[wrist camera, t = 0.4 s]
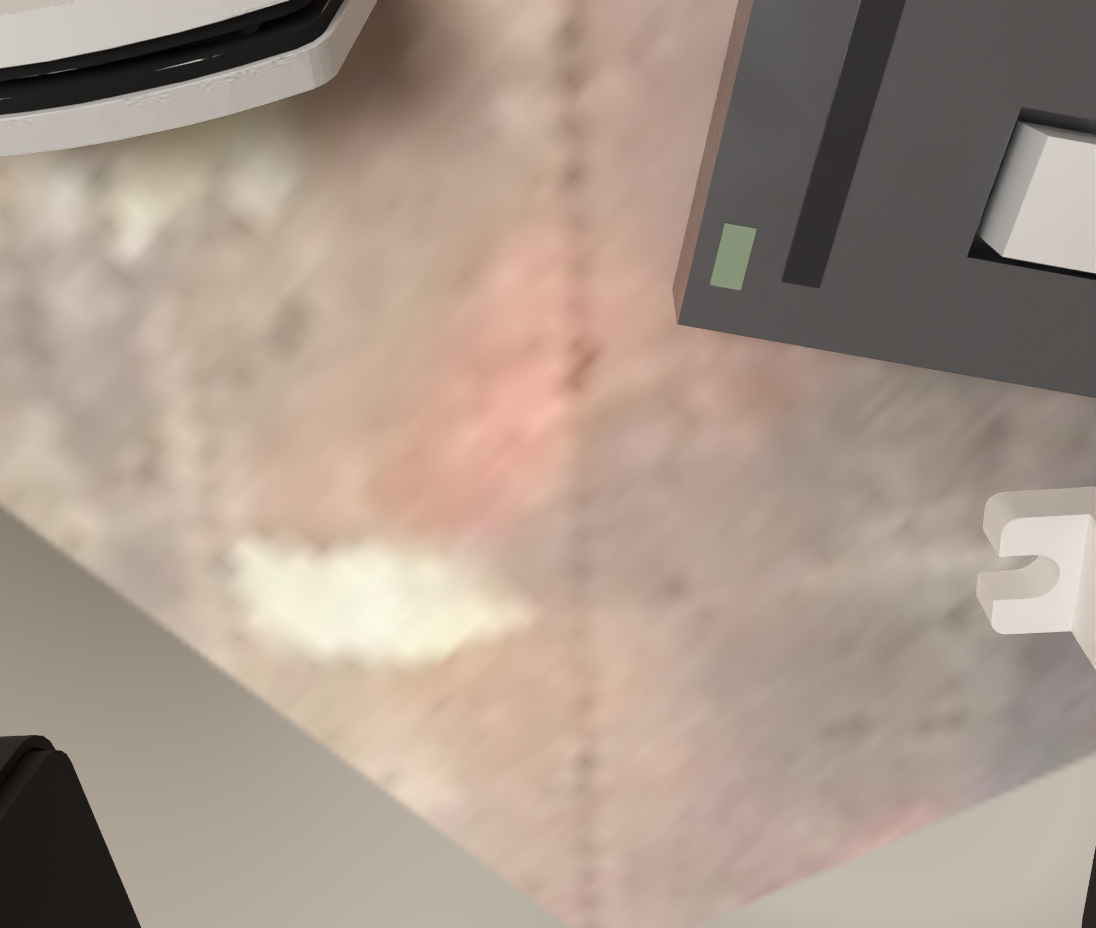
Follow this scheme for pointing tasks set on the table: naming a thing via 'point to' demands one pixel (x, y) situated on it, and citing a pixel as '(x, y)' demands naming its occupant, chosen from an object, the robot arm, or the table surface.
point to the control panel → (889, 185)
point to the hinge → (158, 63)
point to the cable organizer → (1043, 564)
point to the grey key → (1045, 199)
